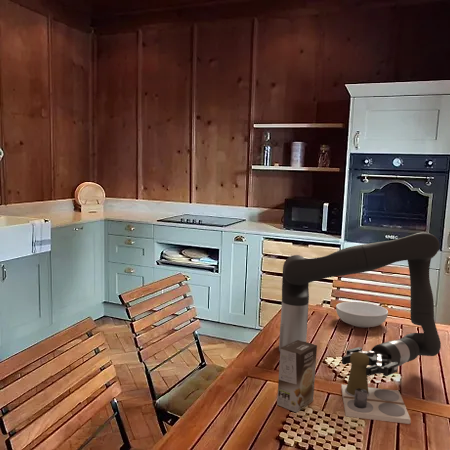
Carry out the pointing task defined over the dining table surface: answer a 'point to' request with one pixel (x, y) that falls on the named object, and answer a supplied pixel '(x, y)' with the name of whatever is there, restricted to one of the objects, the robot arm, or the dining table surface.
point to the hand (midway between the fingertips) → (354, 366)
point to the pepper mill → (358, 372)
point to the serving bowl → (361, 314)
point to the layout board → (377, 405)
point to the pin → (360, 398)
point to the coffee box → (296, 375)
